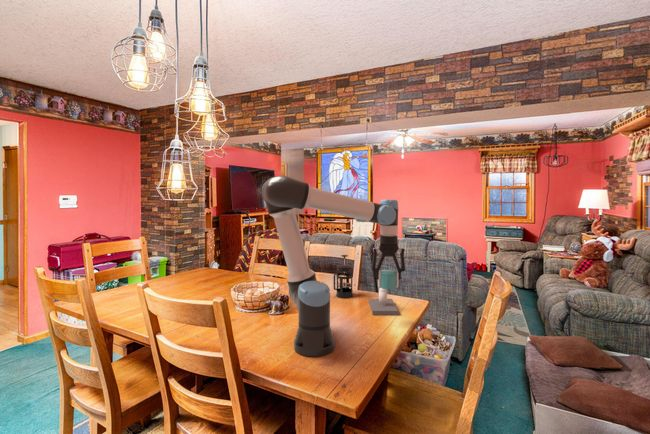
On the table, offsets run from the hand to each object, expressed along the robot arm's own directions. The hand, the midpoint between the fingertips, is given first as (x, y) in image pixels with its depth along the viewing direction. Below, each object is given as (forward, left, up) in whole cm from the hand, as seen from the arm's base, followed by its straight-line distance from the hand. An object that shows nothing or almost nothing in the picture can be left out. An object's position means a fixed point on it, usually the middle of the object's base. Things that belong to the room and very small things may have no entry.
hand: (388, 286), depth 144 cm
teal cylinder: (0, 0, 0) cm, 0 cm away
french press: (+37, +19, -16) cm, 45 cm away
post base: (+17, 0, -16) cm, 23 cm away
